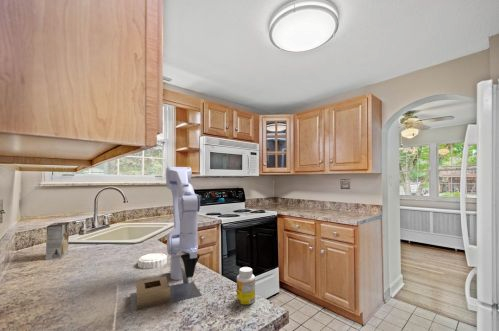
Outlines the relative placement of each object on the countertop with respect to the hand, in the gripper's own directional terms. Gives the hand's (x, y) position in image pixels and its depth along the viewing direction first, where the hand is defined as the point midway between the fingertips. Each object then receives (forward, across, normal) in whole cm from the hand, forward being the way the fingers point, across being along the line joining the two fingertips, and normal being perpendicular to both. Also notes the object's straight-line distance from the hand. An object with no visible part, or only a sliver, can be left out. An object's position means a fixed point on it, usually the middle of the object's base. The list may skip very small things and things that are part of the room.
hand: (188, 274), depth 76 cm
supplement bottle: (+7, +13, +14) cm, 21 cm away
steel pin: (+2, 0, 0) cm, 2 cm away
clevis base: (+7, -2, -6) cm, 10 cm away
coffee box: (+7, -70, -48) cm, 85 cm away
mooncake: (+7, -37, -8) cm, 38 cm away
